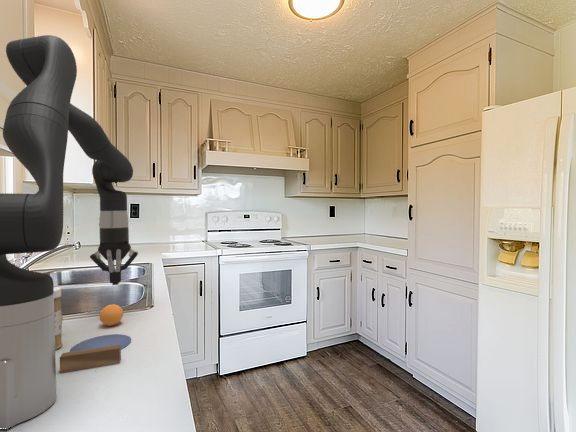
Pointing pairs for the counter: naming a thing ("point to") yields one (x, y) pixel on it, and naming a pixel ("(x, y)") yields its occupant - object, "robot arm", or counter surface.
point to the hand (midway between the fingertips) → (115, 284)
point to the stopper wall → (90, 358)
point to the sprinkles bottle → (57, 317)
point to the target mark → (103, 342)
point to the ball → (111, 314)
